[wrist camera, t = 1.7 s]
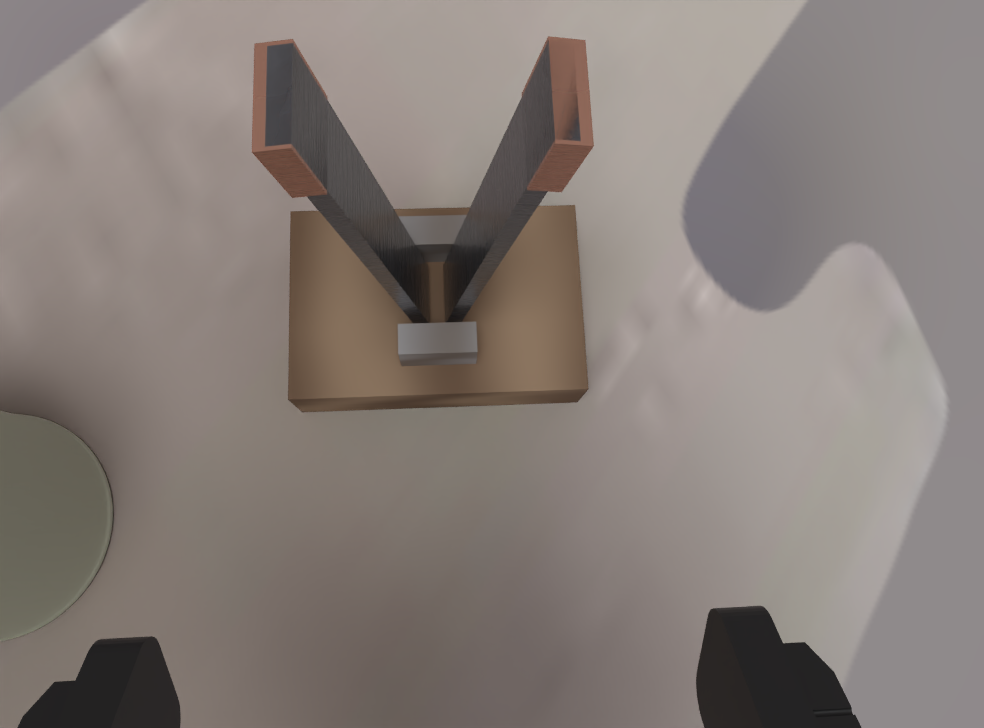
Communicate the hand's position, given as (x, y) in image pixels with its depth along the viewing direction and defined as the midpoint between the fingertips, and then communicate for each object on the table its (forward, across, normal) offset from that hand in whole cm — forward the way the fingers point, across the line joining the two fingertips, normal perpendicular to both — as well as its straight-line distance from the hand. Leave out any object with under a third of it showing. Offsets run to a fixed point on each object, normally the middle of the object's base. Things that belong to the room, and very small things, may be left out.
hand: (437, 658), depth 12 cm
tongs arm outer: (+21, 0, +5) cm, 22 cm away
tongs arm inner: (+21, +1, +5) cm, 22 cm away
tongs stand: (+24, 0, +7) cm, 25 cm away
